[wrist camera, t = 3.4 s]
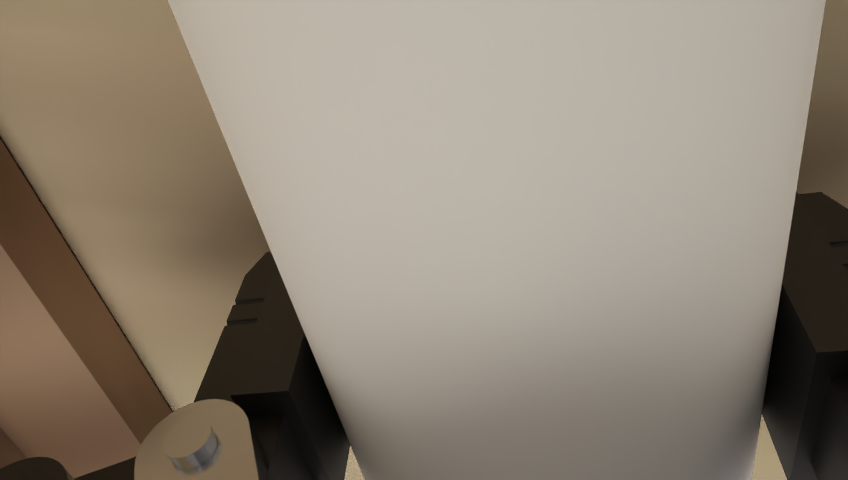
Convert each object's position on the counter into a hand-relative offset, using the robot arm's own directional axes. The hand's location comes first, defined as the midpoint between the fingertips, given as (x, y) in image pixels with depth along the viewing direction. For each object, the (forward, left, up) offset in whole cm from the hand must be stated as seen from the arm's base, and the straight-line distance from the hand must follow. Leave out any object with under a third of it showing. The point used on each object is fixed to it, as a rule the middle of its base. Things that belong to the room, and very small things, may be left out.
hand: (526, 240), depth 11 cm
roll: (0, 0, -1) cm, 1 cm away
